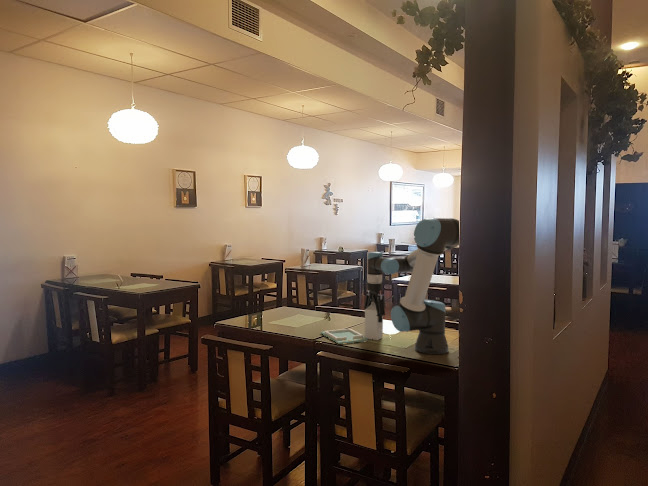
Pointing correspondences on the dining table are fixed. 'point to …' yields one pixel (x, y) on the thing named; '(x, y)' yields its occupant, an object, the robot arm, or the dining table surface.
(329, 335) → the shallow tray
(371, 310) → the milk carton
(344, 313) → the dining table surface
